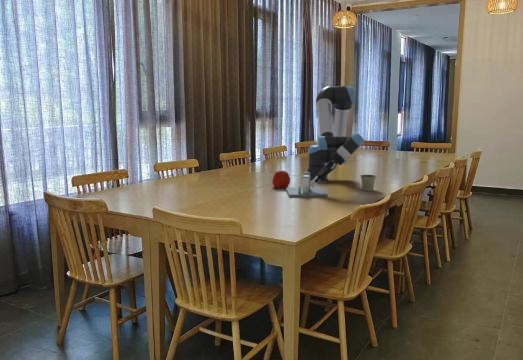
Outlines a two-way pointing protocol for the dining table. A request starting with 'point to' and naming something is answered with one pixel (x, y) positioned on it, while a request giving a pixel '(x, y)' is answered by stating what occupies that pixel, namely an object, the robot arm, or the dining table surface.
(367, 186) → the flower pot
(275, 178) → the apple
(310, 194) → the dial plate
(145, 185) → the dining table surface
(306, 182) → the white slab
